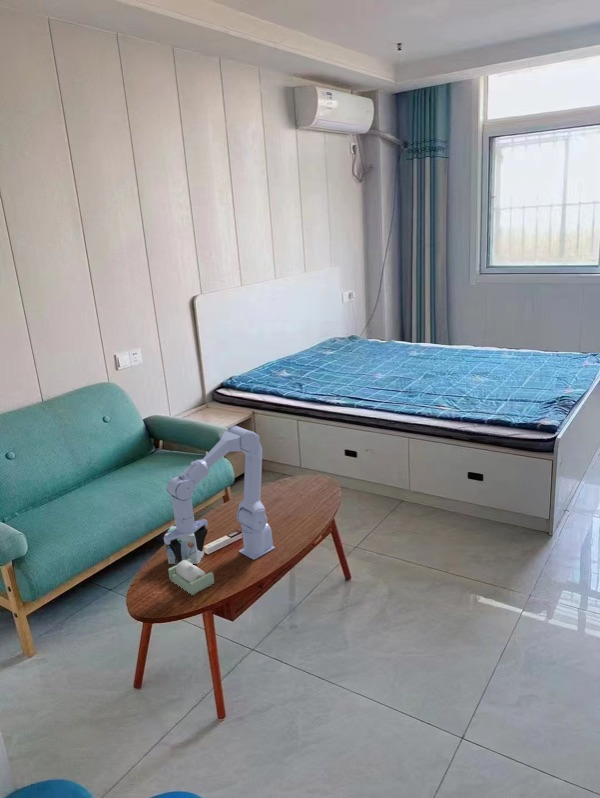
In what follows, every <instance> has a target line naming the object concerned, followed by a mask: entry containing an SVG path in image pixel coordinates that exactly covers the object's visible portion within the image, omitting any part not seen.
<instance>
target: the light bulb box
mask: <svg viewBox="0 0 600 798" xmlns="http://www.w3.org/2000/svg"><path fill="white" fill-rule="evenodd" d="M175 529H176V525H171V526H170V527H169V529H168V530H167V532H166V533H165V534H164V537H165V536H167V535H168V534H170V533H171V532H172V531H174V530H175ZM177 541H178V542H179V543H180V544H181V556H182V560H187V559H189V558H190V559H191V561H192V564H198V563H199V564H200V562H201V560H202V559H203V557H204V555H205V551H204V548H203V551H199V550H197V546H196V539H195V535H194V533H193V534H191V535H187V536H184V537H181V538H179V539H177ZM165 549H166V555H167V563H168V565H177V564H178V563H179V561H177V560H176V557H175V555H174V553H173V551H172V549H171V548H170V547H169V545H167V544H165ZM201 558H202V559H201ZM199 564H198V565H199Z"/></svg>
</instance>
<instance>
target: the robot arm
mask: <svg viewBox="0 0 600 798" xmlns="http://www.w3.org/2000/svg"><path fill="white" fill-rule="evenodd" d="M260 437H261V436H260V435H259V434H257V433H256V432H254V431H252V430H248V429H245V428H243V427H241V426H238V425H232V426H230V427H229V428H228V429H227V430H226V431H224V432H223V433H222V436H221V439H220V440H219V441H218V442H216V444H215V445H214V446H213V447H212V449H210V451H208V452H207V453H206V455H205V456H204V457H203V458H201V459H196V460H195V461H193V460H192V461H191V462H190V463H189V464H190V465H189V466H187V468H185V470H184V471H183V472H180V473H179V474H178V476H176V477H173V478H171V479H170V480H169V481H168V484H167V487H166V488H165V490H166V492H167V493H168V495H170V498H171V503H172V505H171V506H172V511H173V517H174V518H173V519H174V522H175V526H176V529H175V530H174V531H172V532H171V533H170V534H168V535H167V536H165V535H164V536H163V542H164V544H165V545H166V544H167V545H169V547H170V548H171V549H172V551H173V553H174V555H175V557H176V560H177V561H179V562H181V561H182V556H181V544H180V543H179V542H178V541H177V539H179V538H181V537H184V536H187V535H191V534H193V533H194V535H195V539H196V546H197V550H199V551H203V549H204V546H205V545H204V543H205V540H206V536H207V534H208V532H209V531H208V529H207V527H209V523H208V520H207V519H205V518H203V519H200V520H196V521H195V516H194V510H193V509H194V508H193V501H192V496H193V494H194V493H195V492H194V491H195V489H196V487H197V486H198V485H199V484H201V481H203V480H204V479H205V478H206V477H207V476H208V475H209V474H210V468H212V466H214V464H216V463H217V462H218V461H219V460H221V459H222V458H224V456H226V455H227V454H228V453H230V452H231V453H232V452H242V453H243V454H244V456H245V457H244V459H245V460H244V478H243V479H244V481H243V483H244V486H243V500H241V501H240V502H239V504H238V510H237V512H236V520H237V521H238V523H240V527H241V531H242V539H243V540H242V541H243V548H241V549H238V550H239V551H238V552H239V553H240V554H242V555H245V556H246V557H247V558H250V559H252V560H256V559H258V558H259V557H261V556H264V555H265V554H267V553H269V552H271V551H272V550H274V549H275V548H276V547H275V545H274V543H273V531H272V528H271V526H270V524H269V523H268V516H267V515H266V508H265V506H264V504H263V502H262V501H261V495H262V494H261V493H262V492H261V490H262V474H263V473H262V472H263V471H262V470H263V469H262V468H263V447H262V445H261V442H260V439H261V438H260Z"/></svg>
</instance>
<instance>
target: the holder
mask: <svg viewBox="0 0 600 798" xmlns="http://www.w3.org/2000/svg"><path fill="white" fill-rule="evenodd" d="M187 561H188V562H190V563H192V561H191V559H190V558H189V559H187ZM177 565H178V564H174V566H172V567H169V568H168V569H167V570H168V577H169V581H170V580H171V581H170V582H172V583H173V582H174V583H173V584H175V585H176V584H177V585H178V587H179V586H180V587H181V588H180V587H179V588H180V589H182V588H183V589H184V590H183V589H182V590H183V591H185V590H186V591H187V592H188V594H189V593H190V594H191V595H190V594H189V595H190V596H192V595H194V594H196V593H197V592H199V591H201V590H203V589H205V588H207V587H208V586H210V585H212V584H214V585H215V578H214V577H215V575H214V572H212V571H210V572H208V573H205V575H204V576H202V577H200V578H199V579H197V580H195V581H193V582H191V583H189V582H188V581H187V580H185V579H184V578H182V577H181V576H179V575H178V574H177V573H176V567H177ZM177 585H176V586H177ZM212 586H213V585H212ZM207 589H208V588H207ZM205 590H206V589H205ZM186 591H185V592H186ZM203 591H204V590H203ZM187 592H186V593H187ZM201 592H202V591H201ZM196 595H197V594H196ZM194 596H195V595H194Z"/></svg>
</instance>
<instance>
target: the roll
mask: <svg viewBox="0 0 600 798" xmlns="http://www.w3.org/2000/svg"><path fill="white" fill-rule="evenodd" d="M176 565H177V564H176ZM176 573H177V574H178V575H179V576H181V577H182V578H184V579H185V580H187V581H188V582H189V583H191V582H193V581H195V580H197V579H199V578H200V577H202V576H204V575H206V572H205V571H204V570H202V569H201V568H199V567H198V566H196V565H193V564H192V563H190V562H188V561H187V560H182V561H181V562H179V563H178V565H177V567H176Z"/></svg>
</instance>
